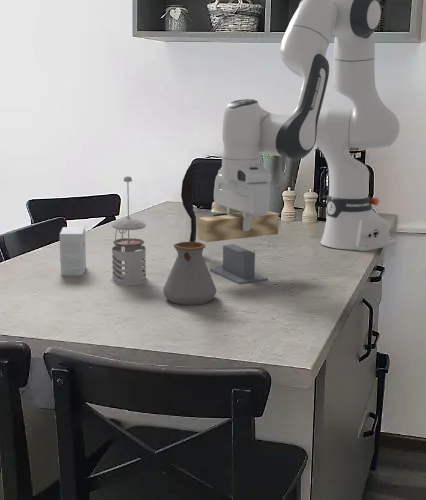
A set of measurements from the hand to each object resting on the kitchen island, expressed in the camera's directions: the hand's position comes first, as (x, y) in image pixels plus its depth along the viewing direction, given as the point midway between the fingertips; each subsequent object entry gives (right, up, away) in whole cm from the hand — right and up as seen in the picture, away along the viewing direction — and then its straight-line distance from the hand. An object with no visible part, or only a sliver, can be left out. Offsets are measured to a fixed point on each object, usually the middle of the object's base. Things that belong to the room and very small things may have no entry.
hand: (239, 228), depth 179 cm
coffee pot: (-11, -18, -22) cm, 30 cm away
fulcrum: (0, -12, +3) cm, 12 cm away
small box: (-41, -11, +6) cm, 42 cm away
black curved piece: (-12, -7, +24) cm, 28 cm away
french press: (-26, -13, -1) cm, 29 cm away
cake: (-2, +8, +85) cm, 86 cm away
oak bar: (0, -2, 0) cm, 2 cm away
